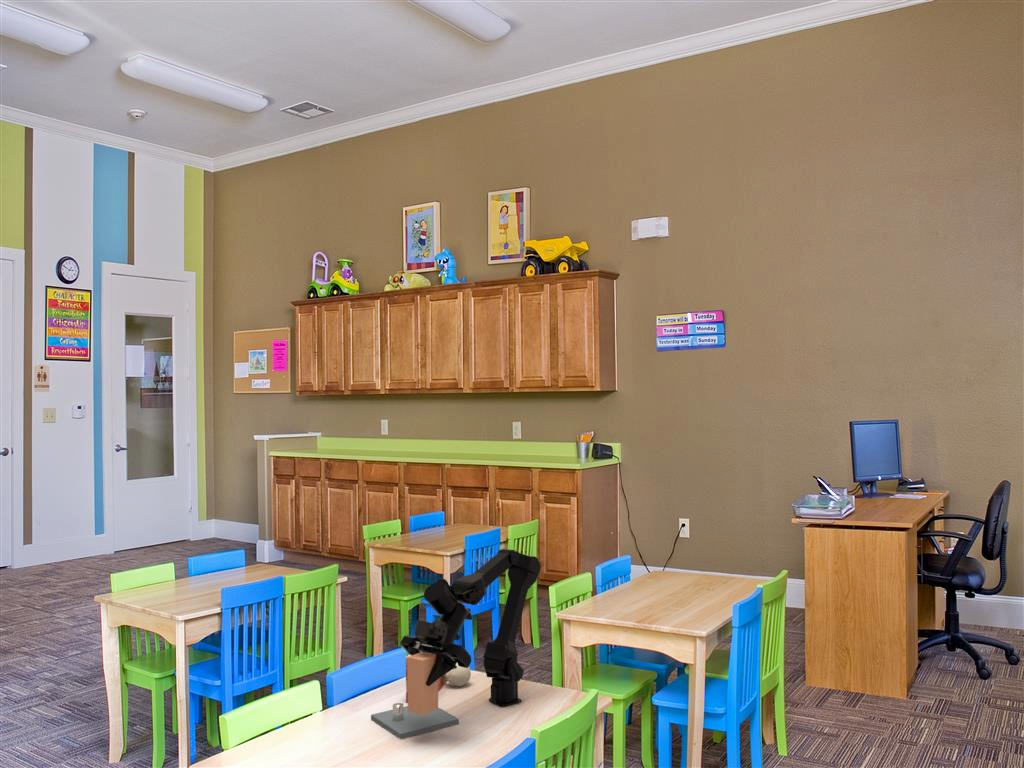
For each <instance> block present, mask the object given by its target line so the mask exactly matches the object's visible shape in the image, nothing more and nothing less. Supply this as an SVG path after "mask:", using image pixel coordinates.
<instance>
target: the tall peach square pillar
mask: <svg viewBox="0 0 1024 768" xmlns="http://www.w3.org/2000/svg"><path fill="white" fill-rule="evenodd" d="M406 657H407V656H406ZM435 662H436V655H434V654H429V653H424V652H420V653H417V654H415V655H412V656H409V657H407V674H408V703H407V706H408V711H409V712H413V713H417V714H421V715H426V714H428V713H430V712H433V711H435V710H437V709H438V708H439V692H438V680H437V681H435V682H434V683H433V684H431V685H430V686H427V685H426V682H427V679H428V676H429V674H430V672H431V670H432V668H433V666H434V664H435Z"/></svg>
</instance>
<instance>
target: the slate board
mask: <svg viewBox="0 0 1024 768" xmlns="http://www.w3.org/2000/svg"><path fill="white" fill-rule="evenodd" d="M403 713H404V719H403V720H401V721H394V720H393V709H389V710H385V711H382V712H377V713H373V714H370V720H371V721H372V722H373V723H376V724H377V725H379V726H380V727H381V728H383V729H385V731H388V732H389V733H391V734H392V735H394V736H396V737H397V738H398V739H400V740H402V739H406V738H407V739H408V738H410V737H414V736H417V735H421V734H426V733H429V732H433V731H436V730H440V729H444V728H447V727H452V726H454V725H459V724H460V718H458V717H457V716H455V715H453V714H451V713H449V712H448V711H446V710H444V709H442V708H440V707H438V709H437V710H435V711H433V712H430V713H428V714H426V715H421V714H417V713H413V712H409V711H408V705H406V706H403Z"/></svg>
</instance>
